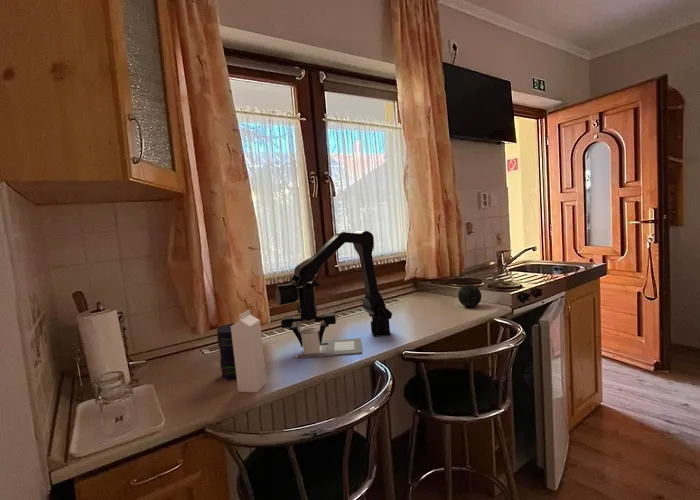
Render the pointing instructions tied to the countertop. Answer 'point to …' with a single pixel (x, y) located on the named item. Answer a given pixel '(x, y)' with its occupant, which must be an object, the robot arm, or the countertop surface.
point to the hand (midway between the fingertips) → (311, 343)
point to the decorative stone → (469, 295)
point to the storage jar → (226, 352)
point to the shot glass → (310, 340)
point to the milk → (248, 353)
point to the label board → (336, 348)
